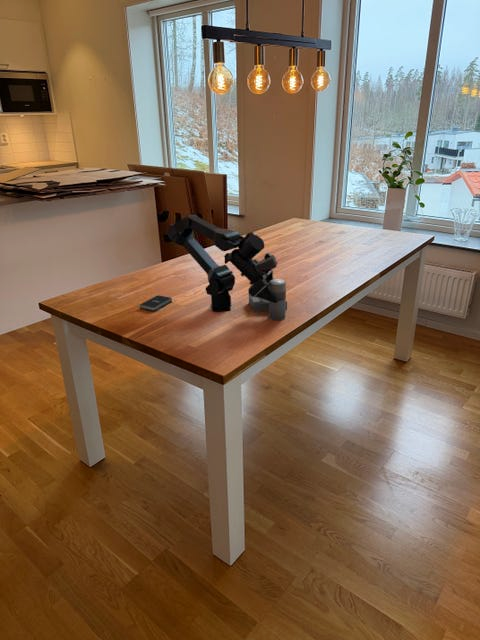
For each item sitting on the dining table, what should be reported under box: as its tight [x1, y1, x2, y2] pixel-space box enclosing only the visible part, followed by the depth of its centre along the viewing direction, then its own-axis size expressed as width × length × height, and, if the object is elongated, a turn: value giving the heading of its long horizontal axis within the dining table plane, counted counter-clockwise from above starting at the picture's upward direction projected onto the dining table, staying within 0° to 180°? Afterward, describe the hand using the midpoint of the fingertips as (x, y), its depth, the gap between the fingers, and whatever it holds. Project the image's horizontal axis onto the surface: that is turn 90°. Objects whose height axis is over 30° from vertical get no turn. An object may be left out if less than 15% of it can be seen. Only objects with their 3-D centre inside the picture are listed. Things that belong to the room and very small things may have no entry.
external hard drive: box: [139, 294, 173, 313], centre depth 164 cm, size 7×11×2 cm, turn 151°
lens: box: [268, 278, 287, 321], centre depth 149 cm, size 6×6×13 cm
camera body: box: [248, 293, 288, 313], centre depth 160 cm, size 12×9×4 cm
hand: (278, 297), depth 149 cm, fingers open, 9 cm apart
